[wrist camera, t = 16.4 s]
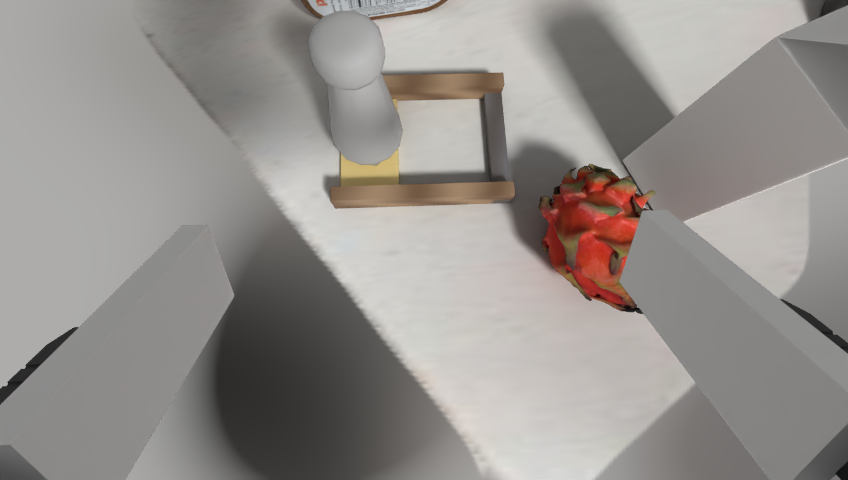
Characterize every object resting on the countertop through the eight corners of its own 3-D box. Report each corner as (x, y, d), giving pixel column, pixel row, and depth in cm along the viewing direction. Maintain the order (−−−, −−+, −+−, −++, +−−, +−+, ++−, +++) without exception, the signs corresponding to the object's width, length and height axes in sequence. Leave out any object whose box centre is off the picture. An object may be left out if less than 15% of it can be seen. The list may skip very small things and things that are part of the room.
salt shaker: (325, 159, 33) (269, 54, 20) (355, 105, 34) (319, -25, 22) (386, 185, 33) (368, 95, 20) (414, 130, 34) (412, 12, 21)
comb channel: (498, 86, 35) (503, 72, 33) (509, 202, 33) (515, 195, 31) (336, 90, 35) (332, 76, 33) (335, 208, 32) (330, 200, 30)
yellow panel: (396, 101, 35) (396, 98, 34) (399, 192, 33) (399, 190, 32) (342, 102, 35) (341, 100, 34) (341, 193, 33) (340, 192, 32)
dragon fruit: (550, 181, 35) (598, 304, 34) (496, 195, 29) (553, 342, 29) (646, 138, 29) (708, 287, 28) (601, 145, 23) (677, 332, 22)
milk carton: (730, 198, 33) (1122, 38, 15) (663, 230, 33) (989, 105, 14) (685, 131, 35) (993, -92, 16) (620, 161, 34) (864, -38, 15)
